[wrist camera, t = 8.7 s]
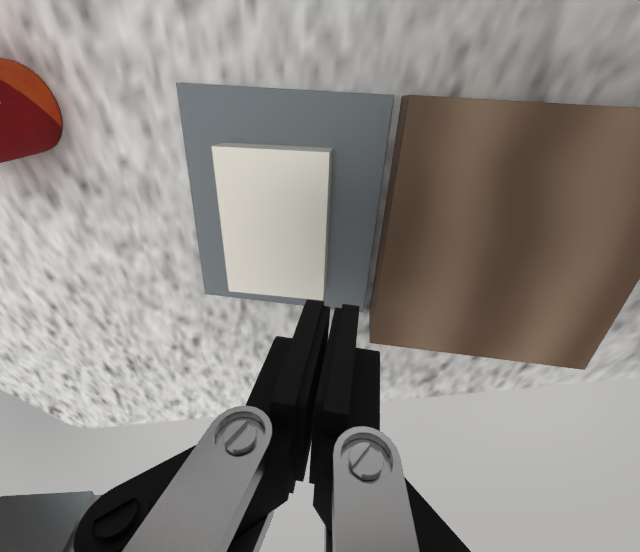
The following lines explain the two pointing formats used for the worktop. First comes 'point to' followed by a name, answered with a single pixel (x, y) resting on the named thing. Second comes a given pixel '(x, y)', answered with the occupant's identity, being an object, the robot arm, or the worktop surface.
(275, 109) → the mat
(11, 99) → the paper cup
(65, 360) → the worktop surface
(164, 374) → the worktop surface
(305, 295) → the cream rectangular block
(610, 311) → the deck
